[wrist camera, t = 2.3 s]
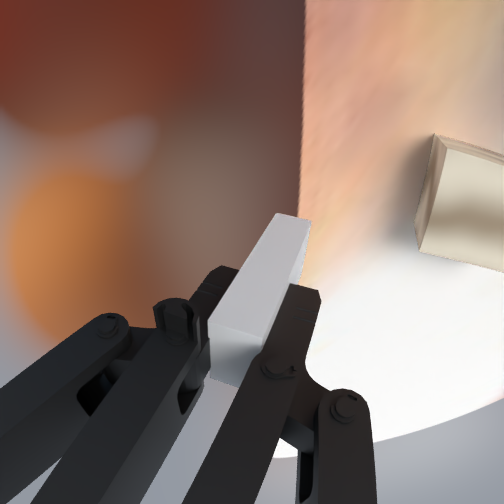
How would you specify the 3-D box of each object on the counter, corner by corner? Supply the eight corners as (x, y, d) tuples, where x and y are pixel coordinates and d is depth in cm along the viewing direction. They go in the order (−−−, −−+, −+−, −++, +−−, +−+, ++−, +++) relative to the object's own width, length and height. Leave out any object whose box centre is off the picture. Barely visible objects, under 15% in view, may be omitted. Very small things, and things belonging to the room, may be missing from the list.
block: (433, 133, 21) (447, 148, 17) (515, 159, 19) (540, 180, 15) (413, 221, 26) (419, 251, 22) (489, 241, 23) (504, 272, 20)
